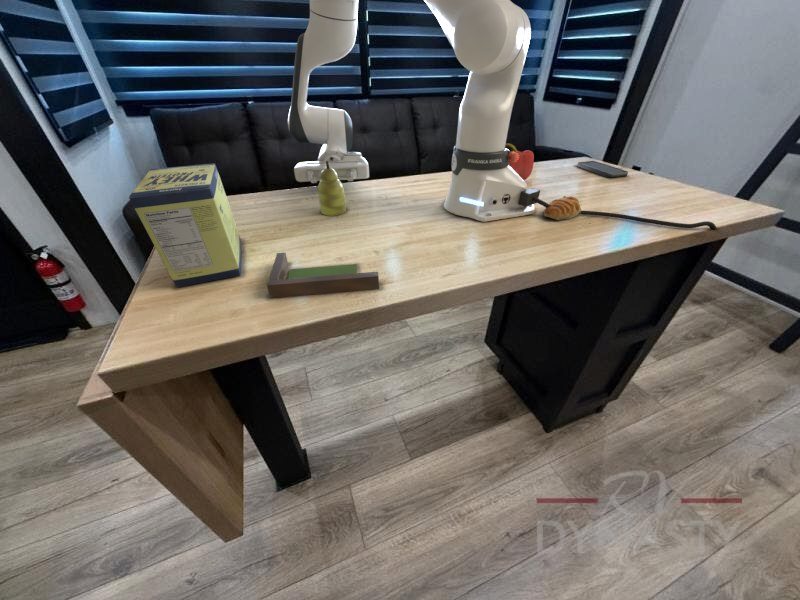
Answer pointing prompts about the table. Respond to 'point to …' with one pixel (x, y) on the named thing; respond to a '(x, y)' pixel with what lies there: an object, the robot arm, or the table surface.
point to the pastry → (563, 208)
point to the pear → (331, 193)
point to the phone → (602, 169)
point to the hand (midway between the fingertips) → (331, 179)
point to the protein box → (189, 223)
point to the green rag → (322, 271)
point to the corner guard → (316, 282)
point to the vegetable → (522, 162)
